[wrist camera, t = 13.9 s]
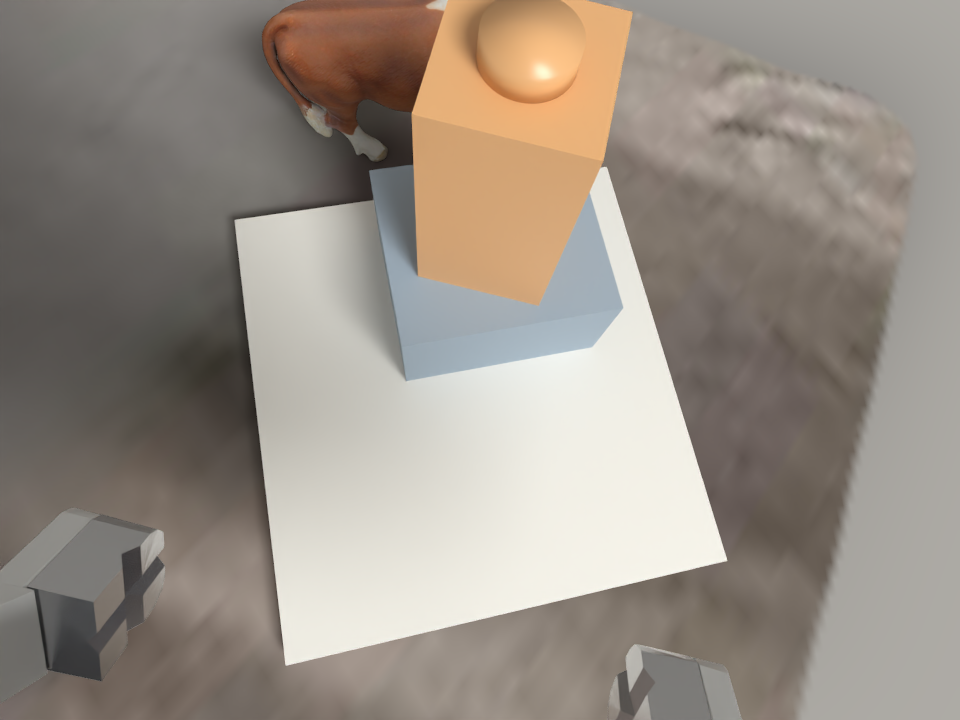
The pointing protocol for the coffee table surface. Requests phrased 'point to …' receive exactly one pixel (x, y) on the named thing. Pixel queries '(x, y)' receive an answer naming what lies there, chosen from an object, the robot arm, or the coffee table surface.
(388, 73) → the bull figurine
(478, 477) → the baseplate
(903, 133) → the coffee table surface
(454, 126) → the tall brick
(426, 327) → the base block
